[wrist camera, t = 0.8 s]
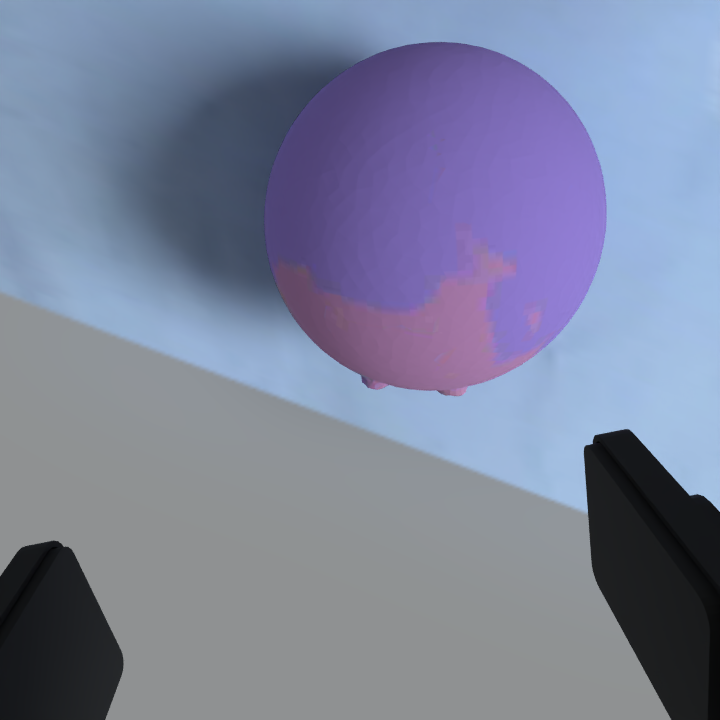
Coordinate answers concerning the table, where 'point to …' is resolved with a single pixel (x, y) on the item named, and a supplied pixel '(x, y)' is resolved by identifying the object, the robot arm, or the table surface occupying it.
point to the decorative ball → (435, 216)
